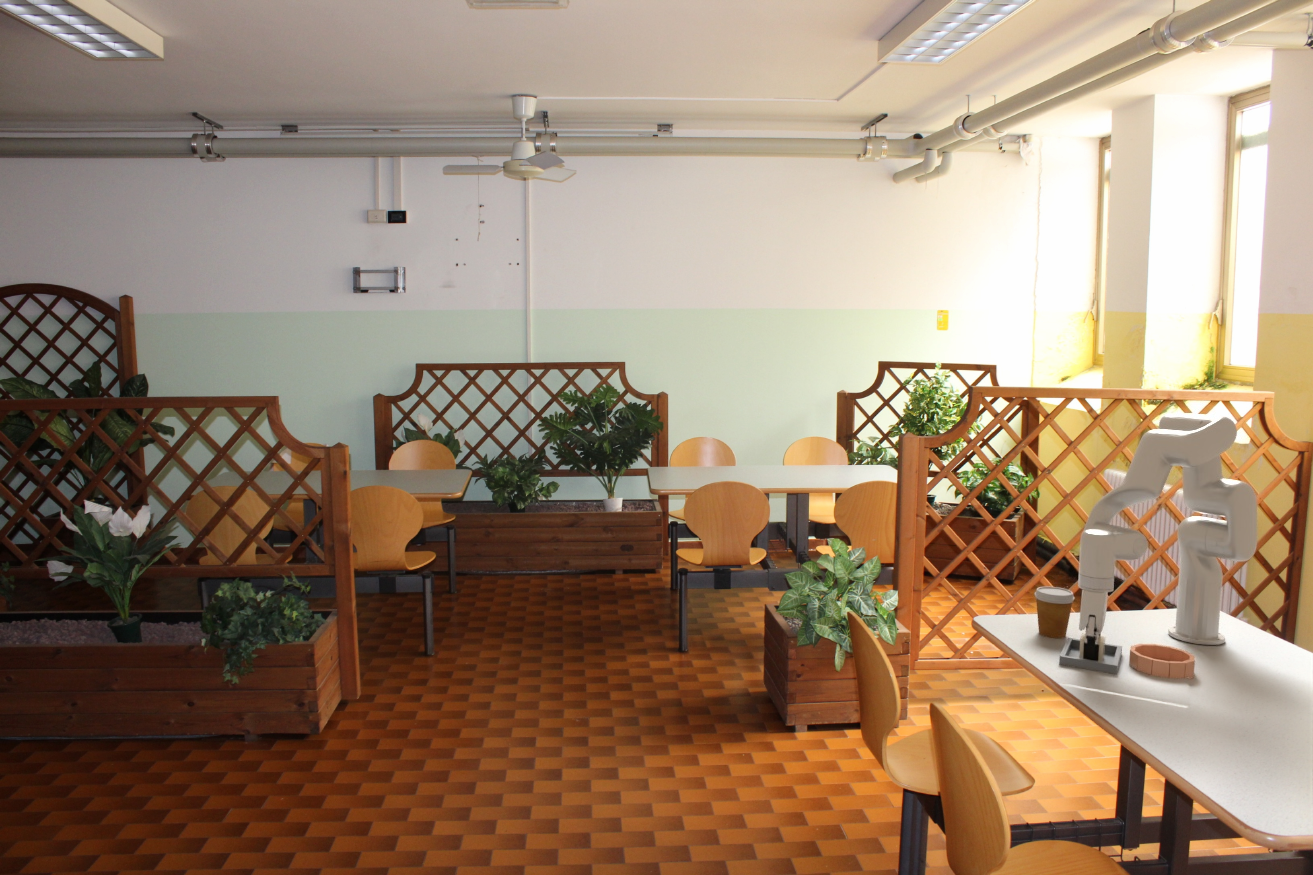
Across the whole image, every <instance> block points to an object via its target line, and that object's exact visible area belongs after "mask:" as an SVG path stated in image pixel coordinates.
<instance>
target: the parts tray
mask: <svg viewBox="0 0 1313 875" xmlns="http://www.w3.org/2000/svg"><path fill="white" fill-rule="evenodd" d="M1079 651H1080V638H1074V637H1073V638H1072V637H1067V639H1066V642H1065V643H1064V646H1063V648H1062V649H1061V652H1060V655H1059V662H1058V665H1060V666H1065V667H1071V668H1075V669H1076V668H1077V669H1083V670H1089V671H1095V672H1100V673H1105V674H1106V673H1107V674H1110V675H1118V670H1119V668H1120V664H1121V658H1122V654H1123V645H1115V644H1110V643H1105V655H1104V660H1103V662H1100V661H1094V660H1088V659H1082V658H1079Z"/></svg>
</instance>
